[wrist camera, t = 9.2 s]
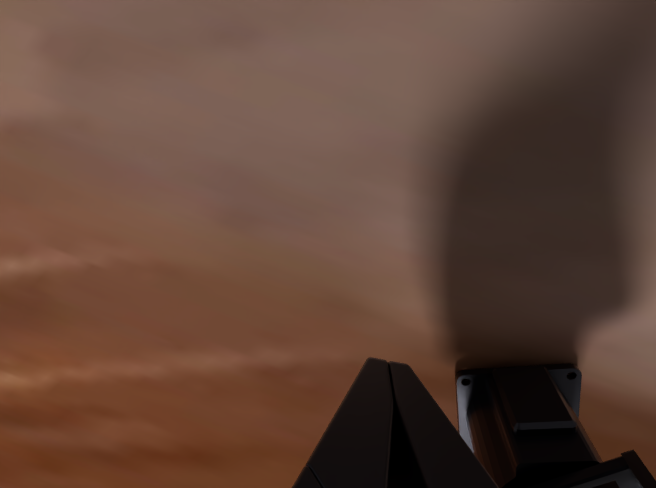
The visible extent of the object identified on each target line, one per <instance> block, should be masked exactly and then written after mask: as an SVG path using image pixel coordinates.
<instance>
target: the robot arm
mask: <svg viewBox="0 0 656 488" xmlns="http://www.w3.org/2000/svg"><path fill="white" fill-rule="evenodd" d="M570 372H573V373H572V374H569V375H567V374H568V373H570ZM581 377H582V375H581V372H580V370H579V369H578V367H577V366H576V365H574V364H554V365H538V366H522V367H507V368H491V369H475V370H463V371H460V372H458V373H457V374H456V377H455V380H456V396H457V412H458V428H459V433H458V431H457V430H456V429H455V427H454V426H453V425H452V423H451V422H450V421H449V419H448V418H447V416H446V415H445V414H444V412H443V411H442V410H441V408H440V407H439V406H438V404H437V403H436V401H435V400H434V399H433V397H432V396H431V395H430V393H429V392H428V391H427V389H426V388H425V387H424V385H423V384H422V382H421V381H420V380H419V378H418V377H417V376H416V374H415V373H414V372H413V370H412V369H411V367H410V366H409V365H407V364H404V363H399V362H393V361H390V362H387V361H386V360H383V359H377V358H372V357H369V358H368V359H367V360H366V362H365V363H364V365H363V367H362V369H361V370H360V372H359V374H358V375H357V377H356V379H355V381H354V382H353V384H352V386H351V388H350V389H349V391H348V393H347V394H346V396H345V398H344V400H343V401H342V403H341V405H340V406H339V408H338V410H337V412H336V413H335V415H334V417H333V419H332V420H331V422H330V424H329V425H328V427H327V429H326V431H325V432H324V434H323V436H322V437H321V439H320V441H319V443H318V444H317V446H316V448H315V450H314V451H313V453H312V455H311V456H310V458H309V460H308V462H307V463H306V466H305V467H304V468H303V470H302V471H301V473H300V475H299V477H298V478H297V480H296V482H295V483H294V485H293V486H292V488H656V480H655V479H654V478H653V476H652V475H651V473H650V472H649V471H648V469H647V468H646V466H645V465H644V464H643V462H642V461H641V459H640V458H639V457H638V455H637V454H636V452H635V451H634V450H630V451H627V452H624V453H621V455H622V456H620V457H617V458H614V459H611V460H608V461H605V462H603V461H602V460H601V458H600V456H599V454H598V453H597V451H596V449H595V447H594V445H593V444H592V442H591V440H590V438H589V437H588V435H587V433H586V431H585V430H584V428H583V426H582V424H581V423H580V421H579V419H578V417H579V404H580V390H581ZM463 379H468V380H467V381H462V380H463Z"/></svg>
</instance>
